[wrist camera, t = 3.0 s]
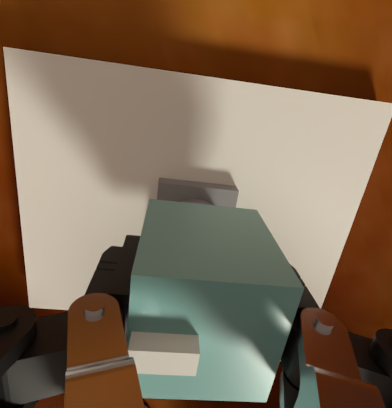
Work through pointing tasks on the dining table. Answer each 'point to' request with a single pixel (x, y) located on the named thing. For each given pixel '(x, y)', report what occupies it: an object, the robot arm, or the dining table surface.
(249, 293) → the mint cube with tab
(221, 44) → the dining table surface
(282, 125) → the stud board
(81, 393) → the robot arm
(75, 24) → the dining table surface
